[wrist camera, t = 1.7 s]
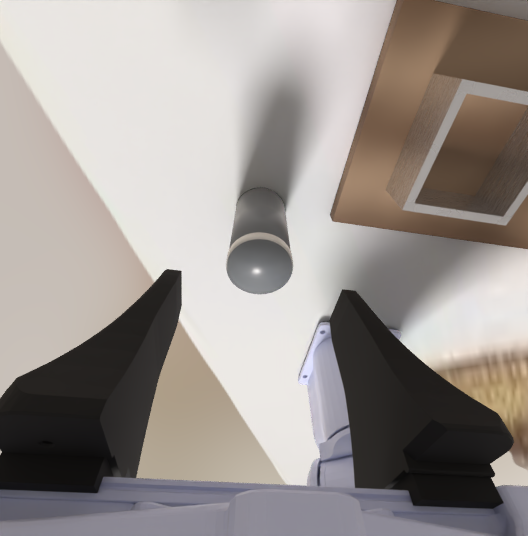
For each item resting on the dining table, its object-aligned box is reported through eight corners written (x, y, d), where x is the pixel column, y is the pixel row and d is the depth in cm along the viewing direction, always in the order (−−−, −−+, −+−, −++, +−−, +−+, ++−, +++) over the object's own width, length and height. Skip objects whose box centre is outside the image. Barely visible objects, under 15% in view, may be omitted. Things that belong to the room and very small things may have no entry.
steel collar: (477, 204, 21) (506, 225, 18) (385, 189, 20) (402, 210, 18) (544, 95, 17) (591, 104, 14) (432, 73, 16) (462, 79, 14)
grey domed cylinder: (280, 235, 23) (285, 298, 18) (232, 229, 23) (223, 290, 17) (290, 191, 21) (300, 245, 16) (238, 183, 21) (228, 235, 15)
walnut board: (600, 253, 24) (612, 261, 23) (330, 214, 22) (332, 221, 21) (770, 77, 17) (795, 79, 16) (398, -4, 15) (405, -6, 14)
